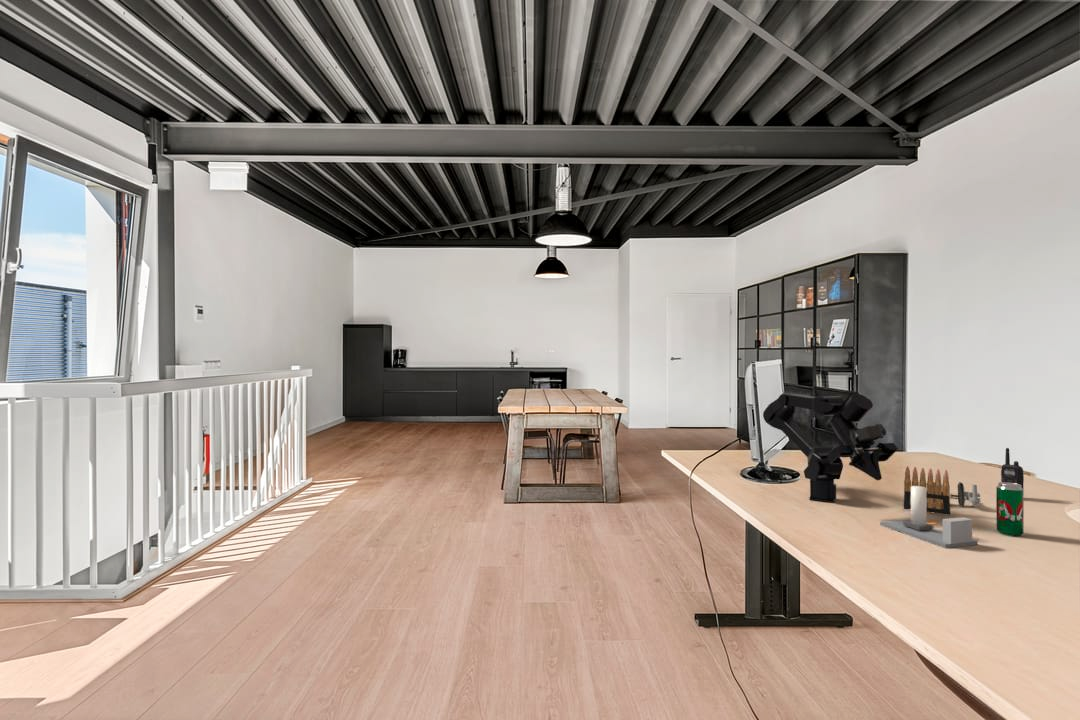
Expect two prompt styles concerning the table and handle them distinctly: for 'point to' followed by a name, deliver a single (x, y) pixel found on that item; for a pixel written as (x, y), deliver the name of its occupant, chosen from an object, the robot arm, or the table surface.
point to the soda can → (1010, 509)
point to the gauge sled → (918, 510)
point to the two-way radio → (1012, 471)
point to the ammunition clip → (929, 490)
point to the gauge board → (940, 532)
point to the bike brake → (965, 495)
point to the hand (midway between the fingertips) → (879, 479)
